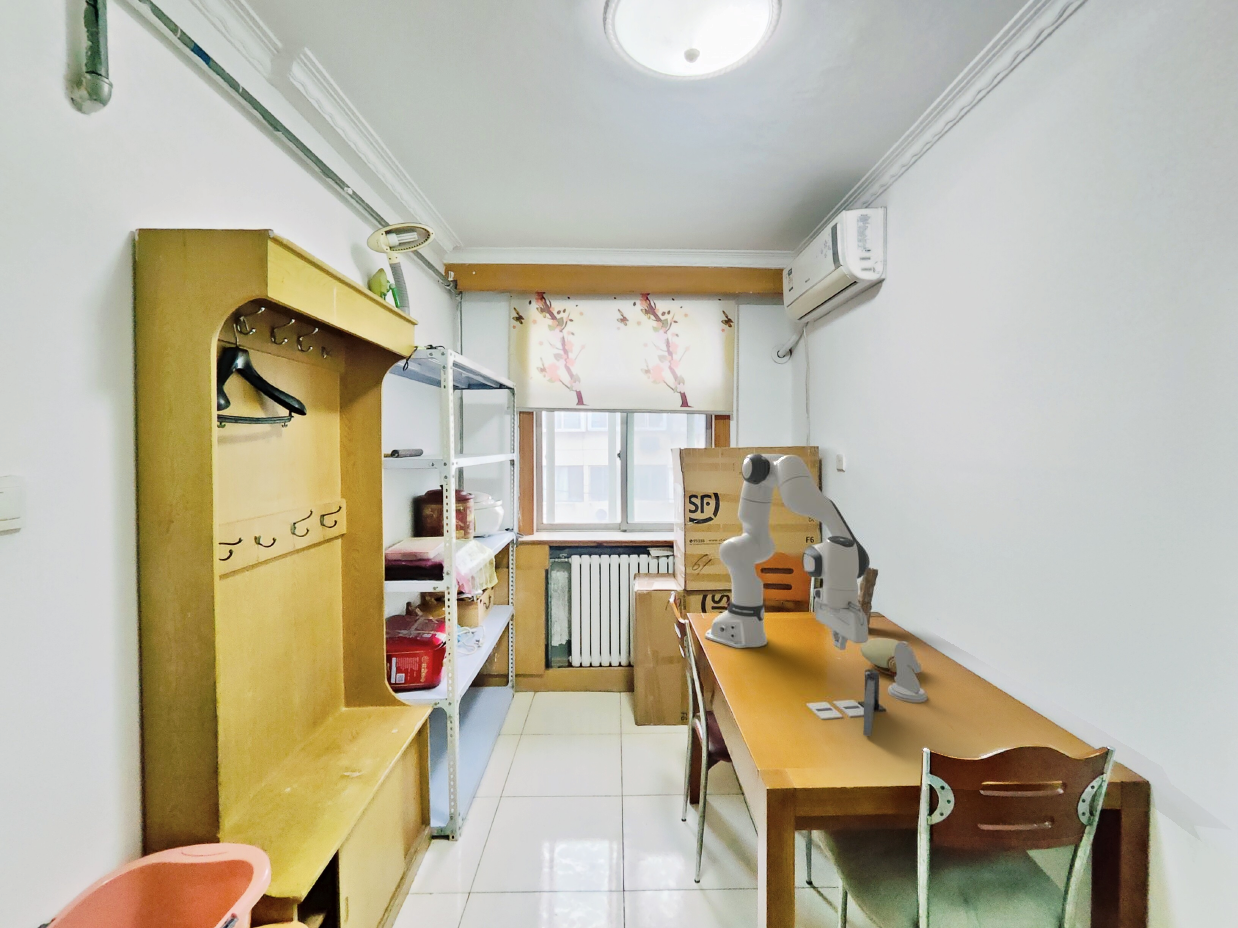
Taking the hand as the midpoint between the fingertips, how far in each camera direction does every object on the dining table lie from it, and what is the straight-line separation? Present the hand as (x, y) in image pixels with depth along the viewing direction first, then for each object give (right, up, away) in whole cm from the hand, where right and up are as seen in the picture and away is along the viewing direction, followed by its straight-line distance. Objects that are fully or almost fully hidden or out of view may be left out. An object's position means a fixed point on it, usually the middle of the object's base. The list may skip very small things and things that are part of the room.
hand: (839, 647), depth 146 cm
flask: (+26, -16, +25) cm, 39 cm away
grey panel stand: (+5, -16, -6) cm, 18 cm away
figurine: (+34, -15, +66) cm, 76 cm away
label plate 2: (+3, -17, 0) cm, 17 cm away
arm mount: (+9, -16, +1) cm, 19 cm away
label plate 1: (-5, -17, -1) cm, 17 cm away
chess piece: (+23, -16, +8) cm, 29 cm away
